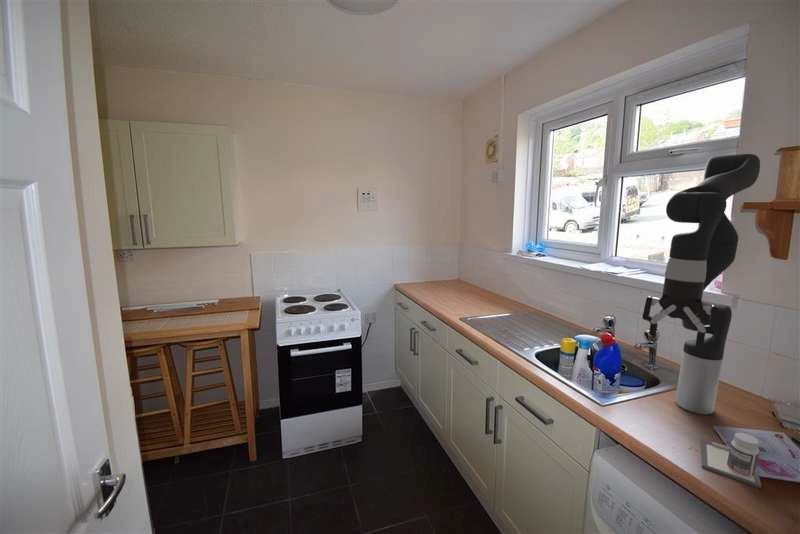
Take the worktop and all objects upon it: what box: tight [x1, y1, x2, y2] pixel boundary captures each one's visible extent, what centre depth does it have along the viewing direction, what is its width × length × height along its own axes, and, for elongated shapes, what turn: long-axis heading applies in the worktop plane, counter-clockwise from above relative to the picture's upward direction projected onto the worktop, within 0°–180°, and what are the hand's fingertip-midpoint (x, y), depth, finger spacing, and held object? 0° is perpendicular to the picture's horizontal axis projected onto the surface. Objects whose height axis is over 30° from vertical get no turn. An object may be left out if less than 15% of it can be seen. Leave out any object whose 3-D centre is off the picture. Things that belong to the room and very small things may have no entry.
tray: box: [700, 440, 762, 489], centre depth 86 cm, size 12×10×1 cm
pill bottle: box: [727, 432, 760, 477], centre depth 82 cm, size 5×5×8 cm
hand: (674, 341), depth 88 cm, fingers open, 8 cm apart
